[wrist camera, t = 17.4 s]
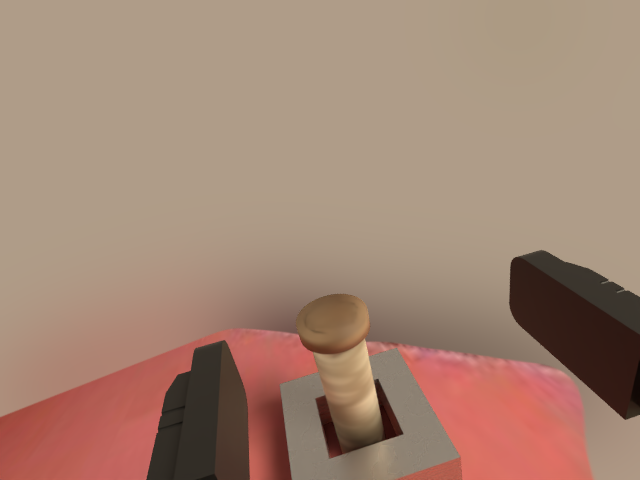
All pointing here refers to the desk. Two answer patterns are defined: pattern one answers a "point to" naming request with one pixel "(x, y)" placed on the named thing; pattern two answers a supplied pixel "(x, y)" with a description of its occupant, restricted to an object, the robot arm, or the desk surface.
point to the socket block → (378, 459)
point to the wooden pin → (344, 367)
